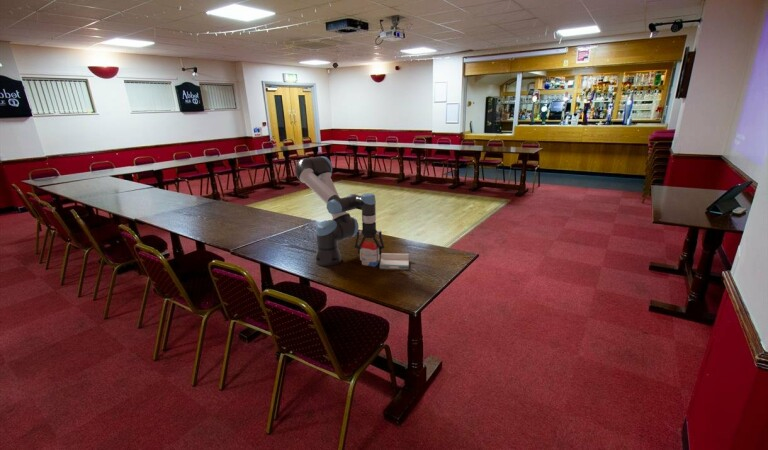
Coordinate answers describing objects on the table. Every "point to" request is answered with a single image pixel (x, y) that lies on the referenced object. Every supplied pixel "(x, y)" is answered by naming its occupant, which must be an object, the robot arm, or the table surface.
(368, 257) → the ink box
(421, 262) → the table surface
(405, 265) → the shelf
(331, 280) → the table surface
